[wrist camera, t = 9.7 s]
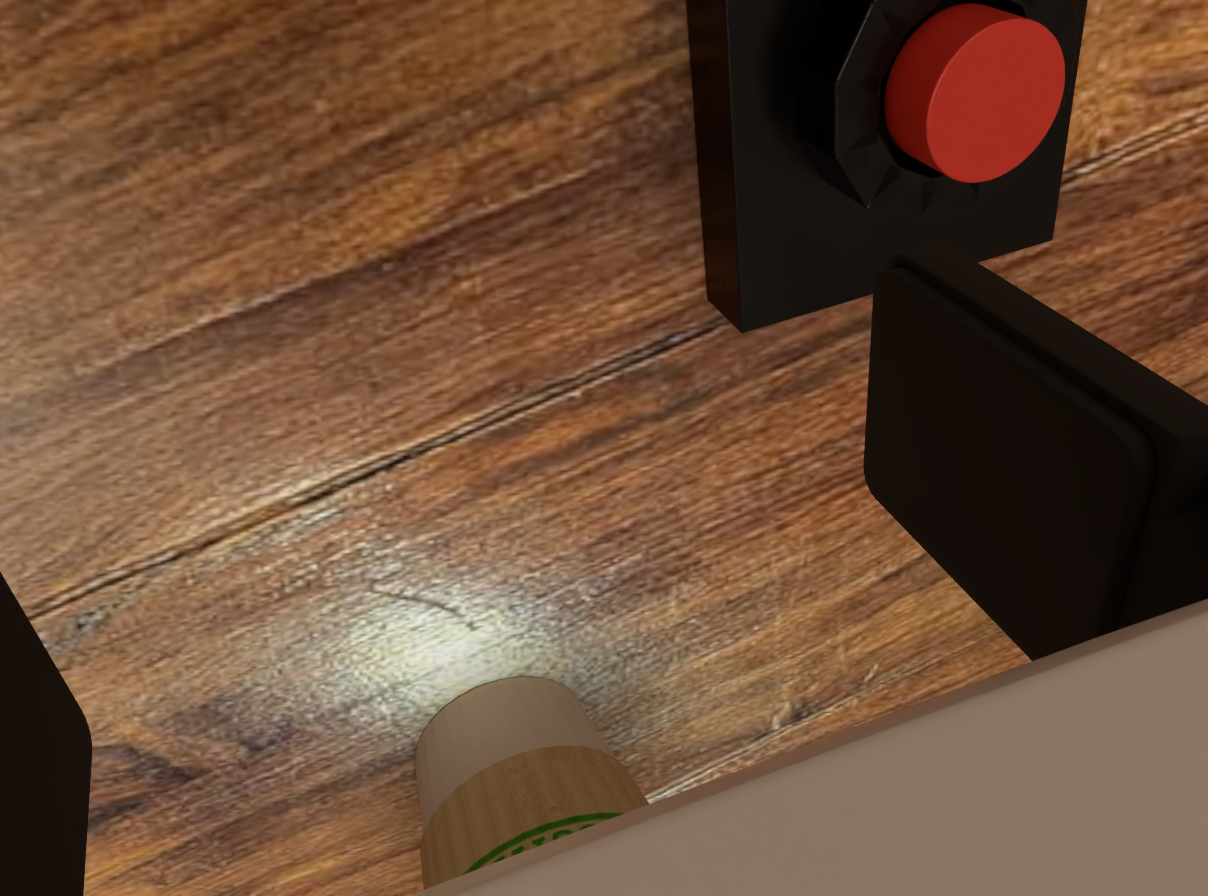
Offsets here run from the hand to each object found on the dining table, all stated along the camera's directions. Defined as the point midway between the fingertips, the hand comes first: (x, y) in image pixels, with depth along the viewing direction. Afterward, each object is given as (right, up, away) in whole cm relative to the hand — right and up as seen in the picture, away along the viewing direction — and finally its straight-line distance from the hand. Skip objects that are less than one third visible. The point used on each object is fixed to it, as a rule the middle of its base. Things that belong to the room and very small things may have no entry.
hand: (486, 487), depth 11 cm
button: (+9, +9, +14) cm, 19 cm away
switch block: (+8, +11, +17) cm, 21 cm away
